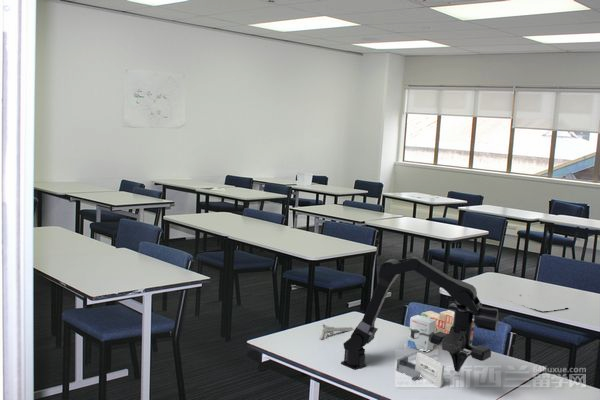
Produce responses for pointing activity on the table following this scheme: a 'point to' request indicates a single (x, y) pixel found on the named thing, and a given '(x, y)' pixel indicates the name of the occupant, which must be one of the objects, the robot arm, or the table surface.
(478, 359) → the robot arm
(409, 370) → the bracket
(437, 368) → the cassette
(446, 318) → the stack of blocks
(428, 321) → the ink box
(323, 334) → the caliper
